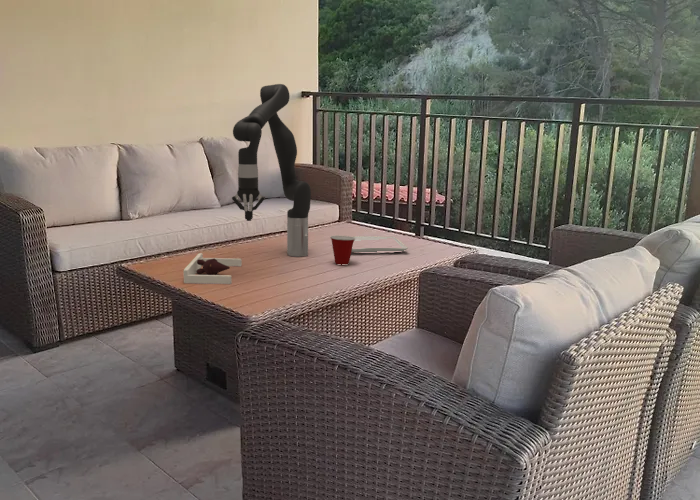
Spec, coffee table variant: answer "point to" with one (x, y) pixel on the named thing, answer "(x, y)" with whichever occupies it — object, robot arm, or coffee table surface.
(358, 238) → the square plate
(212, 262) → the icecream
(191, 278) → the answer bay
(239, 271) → the coffee table surface
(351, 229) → the coffee table surface
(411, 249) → the coffee table surface
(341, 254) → the plastic cup
